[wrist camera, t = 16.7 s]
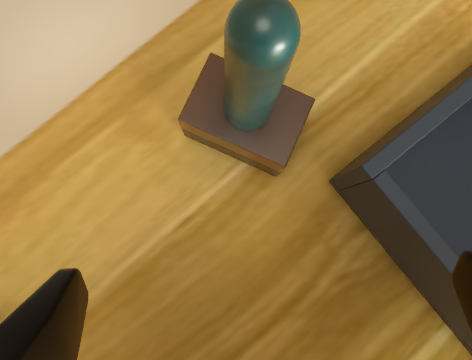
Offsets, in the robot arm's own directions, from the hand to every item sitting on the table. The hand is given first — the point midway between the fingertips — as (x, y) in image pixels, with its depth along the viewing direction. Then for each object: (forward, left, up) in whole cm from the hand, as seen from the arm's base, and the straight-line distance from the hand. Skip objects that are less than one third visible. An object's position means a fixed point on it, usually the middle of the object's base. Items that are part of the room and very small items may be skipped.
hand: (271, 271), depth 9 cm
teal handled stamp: (+6, -4, -13) cm, 15 cm away
